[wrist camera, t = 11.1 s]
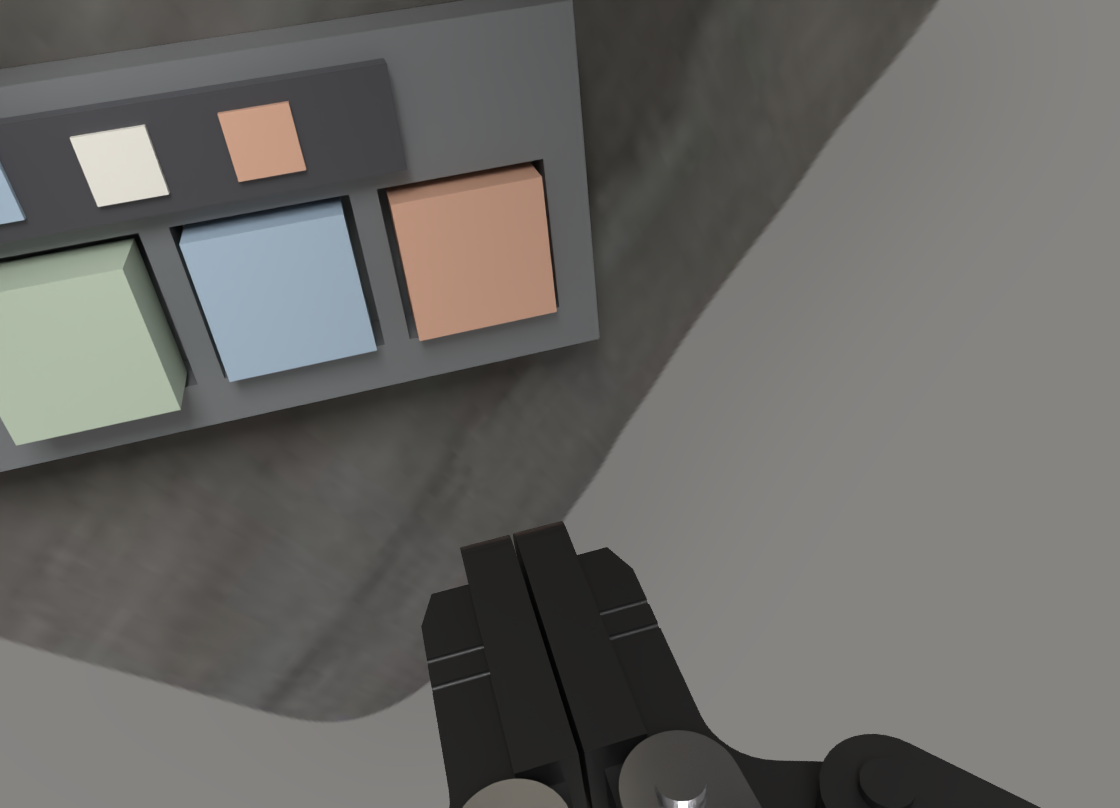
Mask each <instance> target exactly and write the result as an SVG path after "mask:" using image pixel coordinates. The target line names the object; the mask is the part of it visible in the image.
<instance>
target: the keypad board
mask: <svg viewBox="0 0 1120 808" xmlns="http://www.w3.org/2000/svg"><path fill="white" fill-rule="evenodd" d="M523 162H530V163H531V164H532V165H533V167H534V168H535V169H536V170H537V171H538V173H539V174H540V175H541V176H542V182H543V191H544V200H545V209H546V218H547V227H548V237H549V246H550V255H551V264H552V273H553V282H554V291H555V300H556V309H557V312H554V313H549V314H544V315H540V316H535V317H530V318H526V319H521V320H516V321H512V322H507V323H502V324H498V325H493V326H488V327H484V328H479V329H474V330H470V331H465V332H460V333H456V334H451V335H446V336H442V337H437V338H433V339H428V340H423V341H419V337H418V334H417V330H416V327H415V323H414V320H413V316H412V313H411V309H410V304H409V299H408V295H407V290H406V286H405V281H404V276H403V272H402V267H401V262H400V258H399V253H398V248H397V244H396V239H395V235H394V230H393V225H392V221H391V216H390V211H389V207H388V202H387V198H386V193H385V188H387V187H392V186H398V185H403V184H409V183H414V182H419V181H425V180H430V179H436V178H441V177H447V176H452V175H458V174H463V173H469V172H474V171H480V170H485V169H490V168H496V167H501V166H507V165H512V164H518V163H523ZM338 196H341V200H342V204H343V208H344V212H345V216H346V220H347V224H348V228H349V232H350V236H351V240H352V244H353V248H354V252H355V256H356V260H357V264H358V269H359V273H360V277H361V281H362V285H363V289H364V293H365V297H366V301H367V305H368V309H369V313H370V317H371V322H372V327H373V332H374V337H375V342H376V347H377V351H372V352H367V353H363V354H358V355H353V356H349V357H344V358H340V359H335V360H330V361H326V362H321V363H316V364H312V365H307V366H302V367H298V368H293V369H288V370H284V371H279V372H274V373H270V374H265V375H260V376H256V377H251V378H246V379H242V380H237V381H232V382H229V379H228V376H227V373H226V371H225V368H224V365H223V362H222V360H221V357H220V354H219V352H218V349H217V346H216V343H215V341H214V338H213V335H212V332H211V330H210V327H209V324H208V322H207V319H206V316H205V313H204V311H203V308H202V305H201V302H200V300H199V297H198V294H197V292H196V289H195V286H194V283H193V281H192V278H191V275H190V272H189V270H188V267H187V264H186V262H185V259H184V256H183V253H182V251H181V248H180V245H179V244H180V240H181V236H182V232H183V228H184V225H185V224H190V223H196V222H201V221H207V220H212V219H218V218H223V217H228V216H234V215H239V214H245V213H250V212H256V211H261V210H267V209H272V208H278V207H283V206H289V205H294V204H299V203H305V202H310V201H316V200H321V199H327V198H332V197H338ZM132 238H134V239H135V241H136V244H137V246H138V249H139V251H140V254H141V256H142V259H143V261H144V264H145V266H146V269H147V272H148V274H149V277H150V279H151V282H152V284H153V287H154V289H155V292H156V294H157V297H158V299H159V302H160V304H161V307H162V309H163V312H164V314H165V317H166V320H167V322H168V325H169V327H170V330H171V332H172V335H173V337H174V340H175V342H176V345H177V347H178V350H179V352H180V355H181V357H182V360H183V362H184V365H185V367H186V370H187V377H186V382H185V388H184V394H183V399H182V405H181V410H177V411H173V412H168V413H164V414H159V415H154V416H150V417H145V418H141V419H136V420H132V421H127V422H122V423H118V424H113V425H109V426H104V427H99V428H95V429H90V430H86V431H81V432H76V433H72V434H67V435H63V436H58V437H54V438H49V439H44V440H40V441H35V442H31V443H26V444H21V445H17V446H16V444H15V443H14V441H13V439H12V437H11V435H10V434H9V432H8V430H7V428H6V426H5V425H4V423H3V421H2V419H1V417H0V472H3V471H7V470H12V469H16V468H21V467H25V466H30V465H34V464H39V463H43V462H48V461H52V460H57V459H61V458H66V457H70V456H75V455H79V454H84V453H88V452H93V451H97V450H102V449H106V448H111V447H115V446H120V445H124V444H129V443H133V442H138V441H142V440H147V439H151V438H156V437H160V436H165V435H169V434H174V433H178V432H183V431H187V430H192V429H196V428H201V427H205V426H210V425H214V424H219V423H223V422H228V421H232V420H237V419H241V418H246V417H250V416H255V415H259V414H264V413H268V412H273V411H277V410H282V409H286V408H291V407H295V406H300V405H304V404H309V403H313V402H318V401H322V400H327V399H331V398H336V397H340V396H345V395H349V394H354V393H358V392H363V391H367V390H372V389H376V388H381V387H385V386H390V385H394V384H399V383H403V382H408V381H412V380H417V379H421V378H426V377H430V376H435V375H439V374H444V373H448V372H453V371H457V370H462V369H466V368H471V367H475V366H480V365H484V364H489V363H493V362H498V361H502V360H507V359H511V358H516V357H520V356H525V355H529V354H534V353H538V352H543V351H547V350H552V349H556V348H561V347H565V346H570V345H574V344H579V343H583V342H588V341H592V340H597V339H600V336H599V323H598V311H597V298H596V286H595V273H594V261H593V249H592V236H591V224H590V211H589V199H588V186H587V174H586V161H585V149H584V136H583V124H582V111H581V99H580V86H579V74H578V62H577V49H576V37H575V24H574V12H573V0H462V1H455V2H449V3H442V4H435V5H428V6H422V7H415V8H408V9H401V10H395V11H388V12H381V13H375V14H368V15H361V16H354V17H348V18H341V19H334V20H328V21H321V22H314V23H307V24H301V25H294V26H287V27H280V28H274V29H267V30H260V31H254V32H247V33H240V34H233V35H227V36H220V37H213V38H207V39H200V40H193V41H186V42H180V43H173V44H166V45H160V46H153V47H146V48H139V49H133V50H126V51H119V52H112V53H106V54H99V55H92V56H86V57H79V58H72V59H65V60H59V61H52V62H45V63H39V64H32V65H25V66H18V67H12V68H5V69H0V263H1V262H7V261H12V260H18V259H23V258H28V257H34V256H39V255H45V254H50V253H56V252H61V251H66V250H72V249H77V248H83V247H88V246H94V245H99V244H104V243H110V242H115V241H121V240H126V239H132Z"/></svg>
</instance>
